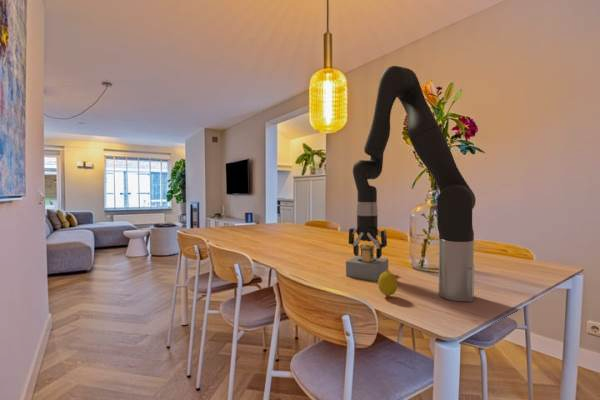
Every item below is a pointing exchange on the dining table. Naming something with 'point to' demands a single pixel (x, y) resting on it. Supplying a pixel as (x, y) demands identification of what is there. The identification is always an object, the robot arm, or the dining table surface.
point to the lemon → (387, 283)
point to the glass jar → (367, 252)
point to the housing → (366, 268)
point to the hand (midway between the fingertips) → (367, 256)
